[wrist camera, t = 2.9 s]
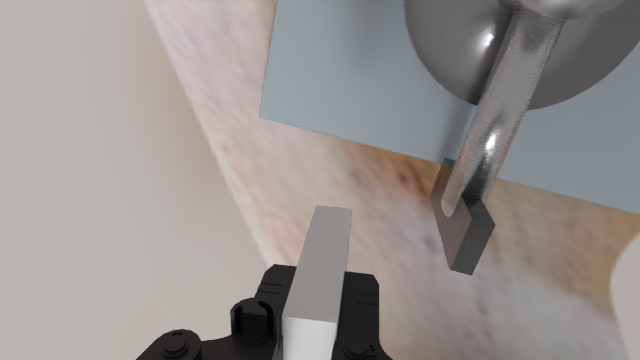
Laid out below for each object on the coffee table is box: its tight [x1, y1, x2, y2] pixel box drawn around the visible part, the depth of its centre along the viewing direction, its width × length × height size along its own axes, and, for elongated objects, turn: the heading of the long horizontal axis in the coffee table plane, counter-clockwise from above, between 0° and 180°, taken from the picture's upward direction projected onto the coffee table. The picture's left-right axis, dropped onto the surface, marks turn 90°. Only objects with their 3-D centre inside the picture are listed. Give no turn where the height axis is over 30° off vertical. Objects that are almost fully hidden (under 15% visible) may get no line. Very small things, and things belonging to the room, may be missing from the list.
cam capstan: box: [404, 0, 640, 275], centre depth 15 cm, size 20×10×7 cm, turn 168°
